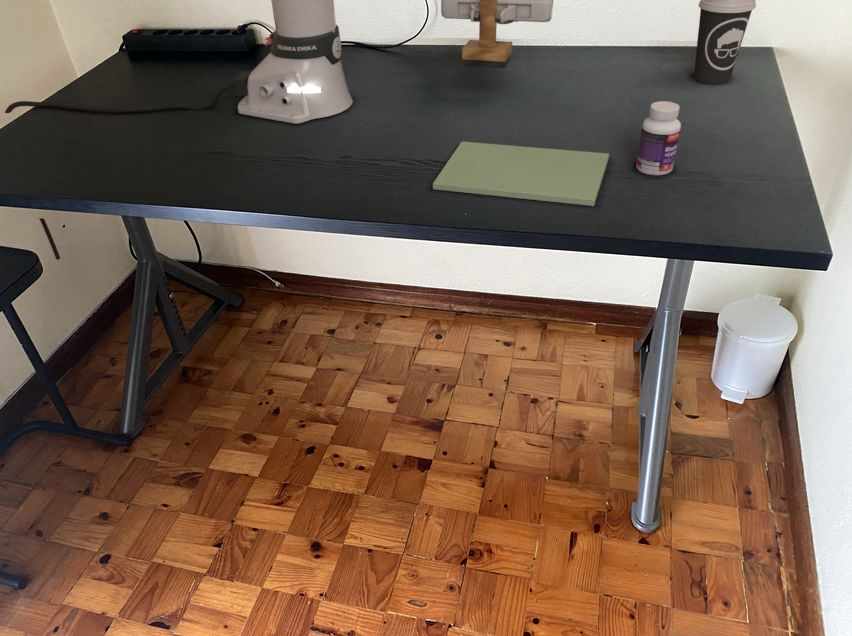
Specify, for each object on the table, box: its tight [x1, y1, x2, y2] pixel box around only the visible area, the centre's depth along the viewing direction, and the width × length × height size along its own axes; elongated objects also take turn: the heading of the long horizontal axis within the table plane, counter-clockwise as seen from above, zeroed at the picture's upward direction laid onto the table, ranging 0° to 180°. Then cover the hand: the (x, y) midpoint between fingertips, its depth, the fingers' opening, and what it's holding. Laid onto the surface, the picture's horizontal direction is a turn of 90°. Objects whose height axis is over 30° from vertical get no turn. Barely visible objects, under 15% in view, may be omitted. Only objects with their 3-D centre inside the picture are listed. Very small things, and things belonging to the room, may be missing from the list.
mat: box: [432, 141, 610, 207], centre depth 113 cm, size 24×16×1 cm, turn 70°
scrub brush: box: [461, 0, 513, 69], centre depth 129 cm, size 8×5×13 cm, turn 70°
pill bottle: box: [635, 100, 682, 176], centre depth 108 cm, size 5×5×10 cm
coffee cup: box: [693, 0, 757, 85], centre depth 135 cm, size 10×10×15 cm
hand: (487, 17), depth 127 cm, fingers closed on scrub brush, 3 cm apart
